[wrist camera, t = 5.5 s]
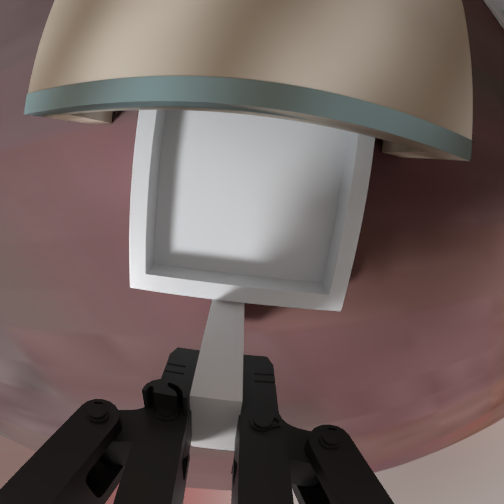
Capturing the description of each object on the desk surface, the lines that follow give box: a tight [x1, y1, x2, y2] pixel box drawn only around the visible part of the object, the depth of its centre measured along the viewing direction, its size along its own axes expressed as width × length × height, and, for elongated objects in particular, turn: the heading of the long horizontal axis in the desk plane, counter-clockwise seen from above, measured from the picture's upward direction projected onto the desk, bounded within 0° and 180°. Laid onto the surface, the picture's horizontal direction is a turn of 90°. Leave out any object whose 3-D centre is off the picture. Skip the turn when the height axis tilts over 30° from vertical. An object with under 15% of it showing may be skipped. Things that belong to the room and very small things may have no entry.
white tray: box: [129, 110, 375, 311], centre depth 12 cm, size 10×14×2 cm
